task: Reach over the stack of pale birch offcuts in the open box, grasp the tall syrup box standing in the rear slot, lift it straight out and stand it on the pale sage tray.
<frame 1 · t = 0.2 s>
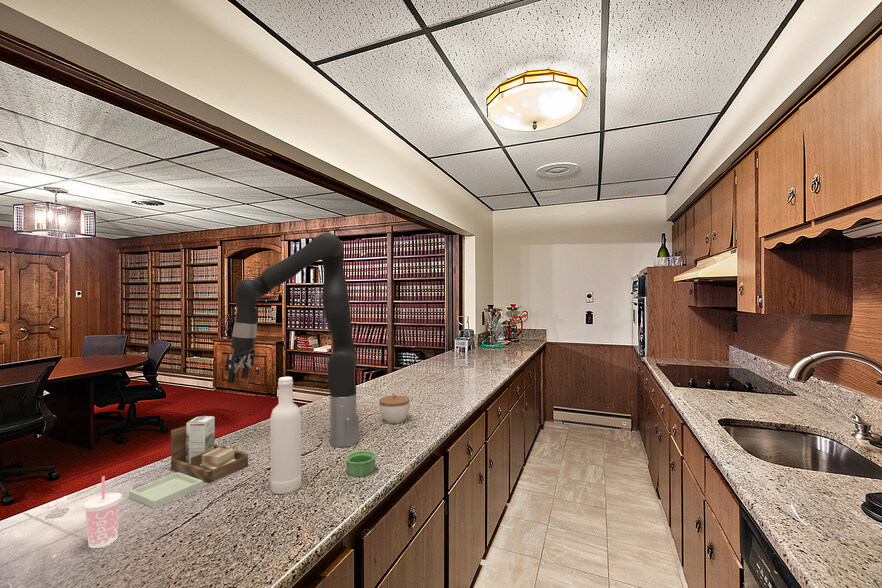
hand: (238, 380, 135), 23 cm above the countertop, tool pointing down, fingers open, 8 cm apart
open box: (209, 468, 117), on the countertop
bottle: (286, 488, 104), on the countertop
beverage cup: (103, 543, 81), on the countertop
white lidded bowl: (394, 421, 160), on the countertop
ramekin: (360, 471, 114), on the countertop
syrup box: (200, 465, 119), on the countertop
tray: (167, 492, 102), on the countertop
offcut low: (218, 472, 115), on the countertop, touching offcut top
offcut top: (218, 462, 115), point 3 cm above the countertop, touching offcut low
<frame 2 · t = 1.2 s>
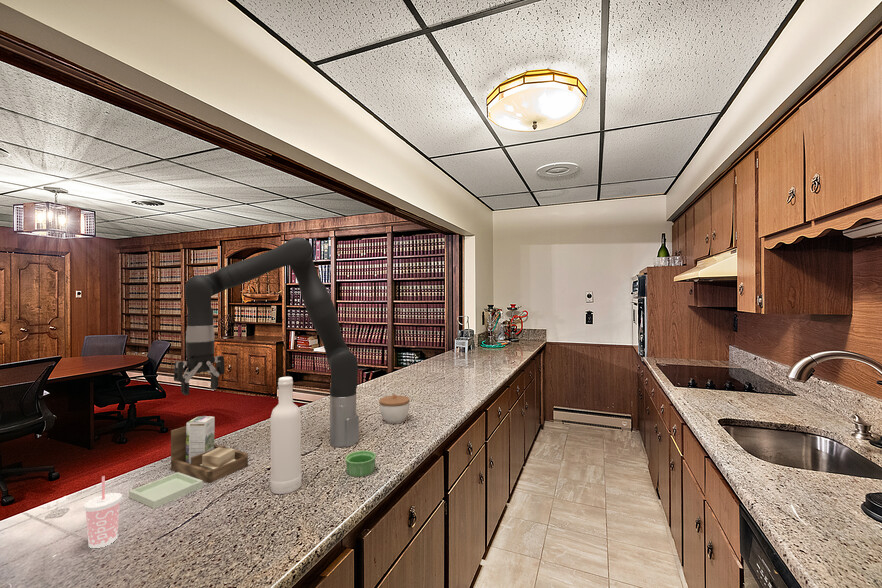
hand: (200, 391, 119), 23 cm above the countertop, tool pointing down, fingers open, 8 cm apart
nothing on the countertop moved.
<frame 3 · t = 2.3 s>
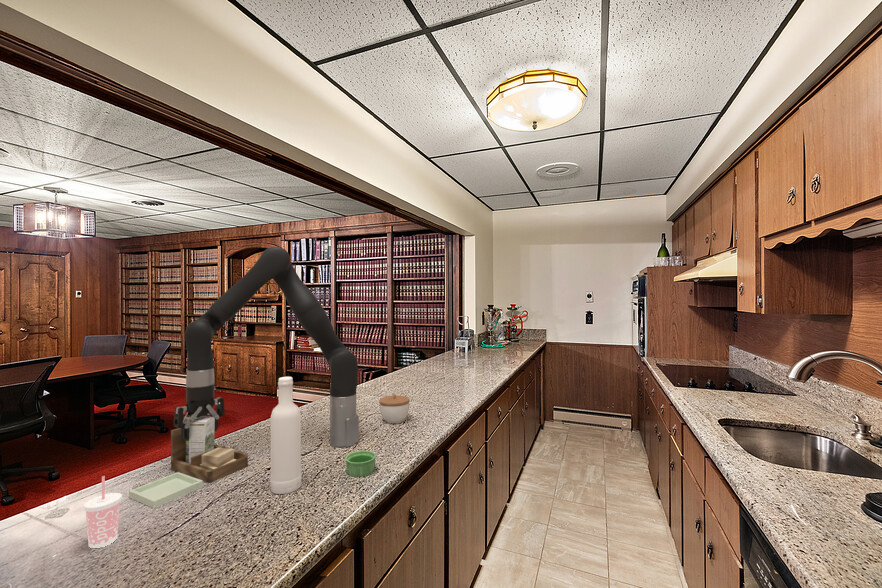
hand: (200, 435, 119), 9 cm above the countertop, tool pointing down, fingers open, 8 cm apart
syrup box: (200, 465, 119), on the countertop, touching gripper
offcut low: (218, 472, 115), on the countertop
offcut top: (218, 462, 115), point 3 cm above the countertop
everything else where it was.
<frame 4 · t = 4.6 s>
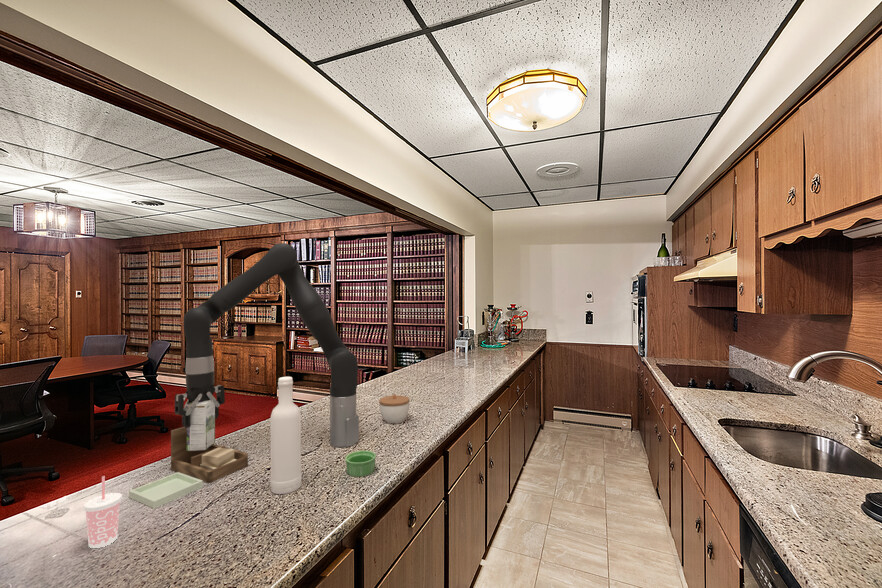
hand: (201, 422, 119), 13 cm above the countertop, tool pointing down, fingers closed on syrup box, 8 cm apart
syrup box: (201, 447, 119), point 5 cm above the countertop, touching gripper
everything else where it was.
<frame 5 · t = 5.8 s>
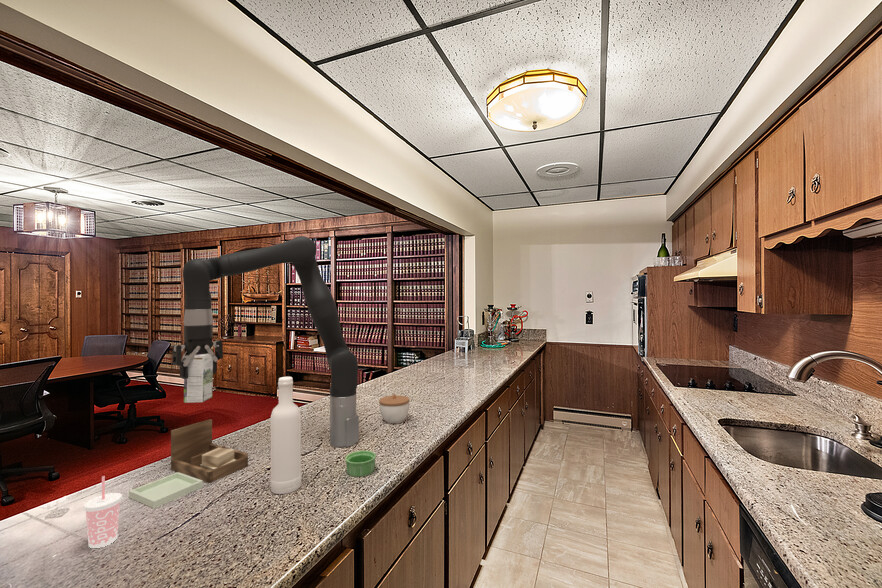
hand: (198, 376, 118), 28 cm above the countertop, tool pointing down, fingers closed on syrup box, 8 cm apart
syrup box: (198, 401, 118), point 20 cm above the countertop, touching gripper
offcut low: (218, 472, 115), on the countertop, touching offcut top
offcut top: (218, 462, 115), point 3 cm above the countertop, touching offcut low
everything else where it was.
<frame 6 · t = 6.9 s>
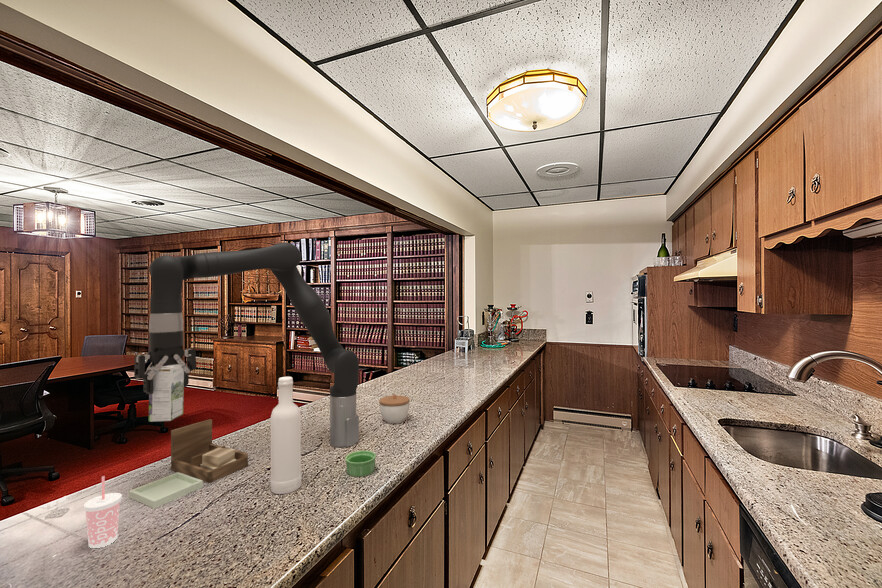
hand: (167, 390, 103), 27 cm above the countertop, tool pointing down, fingers closed on syrup box, 8 cm apart
syrup box: (166, 418, 103), point 20 cm above the countertop, touching gripper
everything else where it was.
when the fingers open (9 cm above the countertop, at t = 10.7 s): syrup box stays where it is, resting on tray.
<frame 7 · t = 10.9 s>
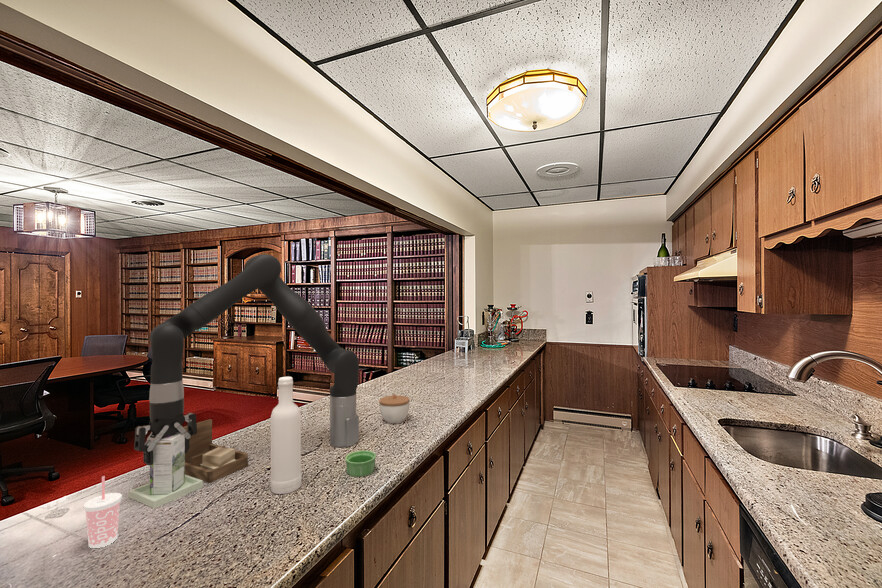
hand: (167, 458, 102), 9 cm above the countertop, tool pointing down, fingers open, 8 cm apart
syrup box: (168, 489, 103), resting on tray, touching gripper
everything else where it was.
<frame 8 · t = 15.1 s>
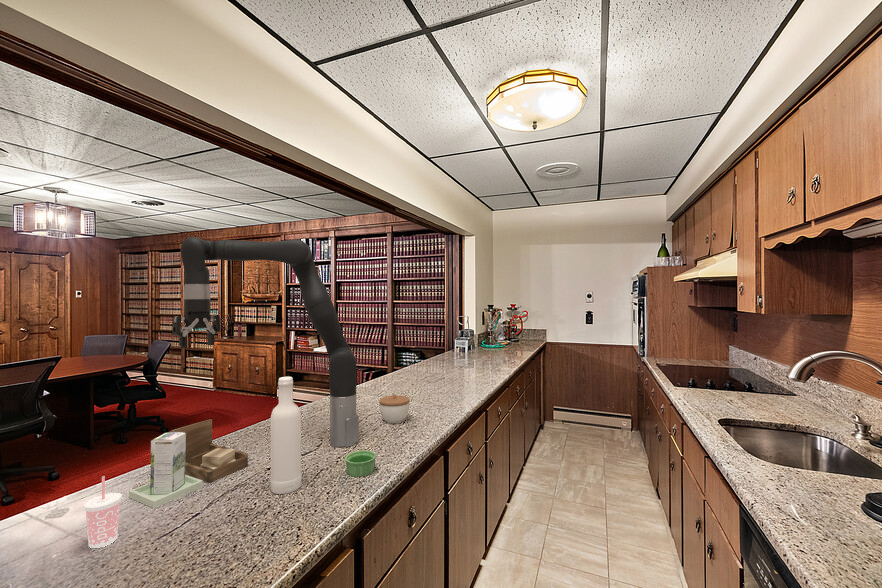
hand: (197, 346, 126), 36 cm above the countertop, tool pointing down, fingers open, 8 cm apart
syrup box: (168, 490, 103), resting on tray
everything else where it was.
at the end: syrup box inside the target area on the tray (0.4 cm from its centre), point 0.3 cm above the tray's base; syrup box tilted 0°; the gripper is holding nothing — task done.
